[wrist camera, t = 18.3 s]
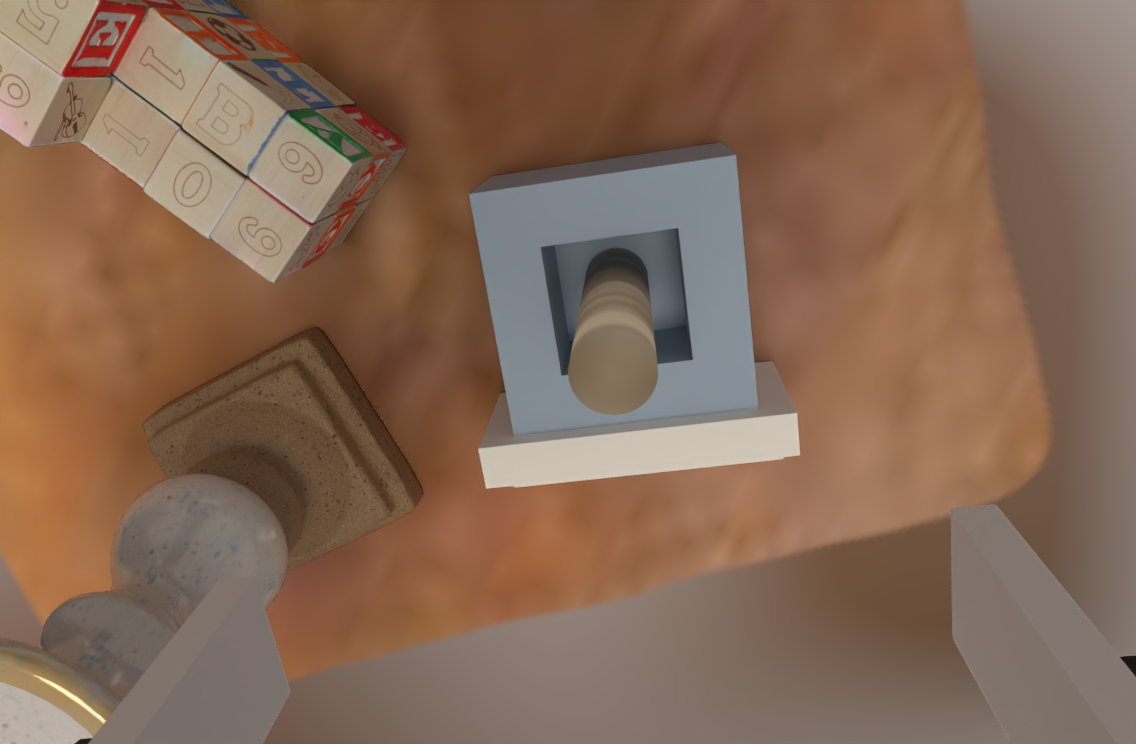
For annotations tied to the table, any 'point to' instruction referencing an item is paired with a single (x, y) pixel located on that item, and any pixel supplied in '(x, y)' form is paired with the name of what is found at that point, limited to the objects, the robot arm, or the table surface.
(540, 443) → the wall
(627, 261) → the dowel
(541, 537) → the table surface
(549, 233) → the block
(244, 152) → the stack of blocks
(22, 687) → the candle holder
